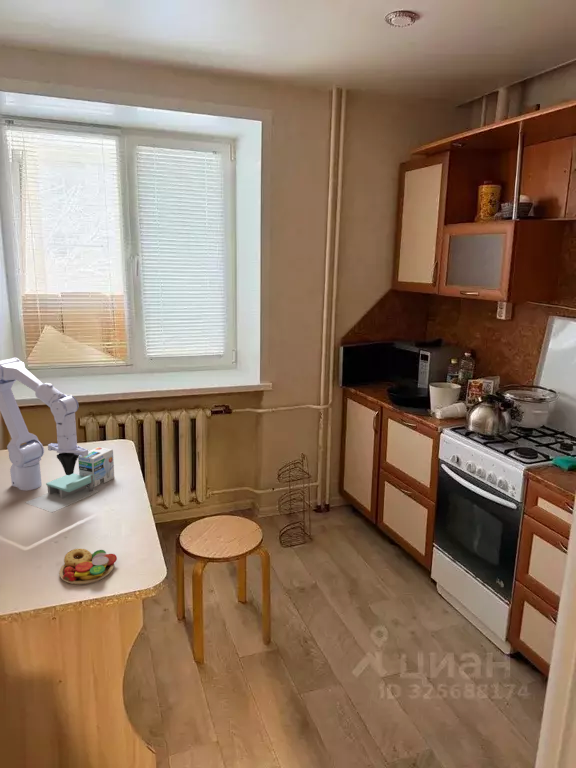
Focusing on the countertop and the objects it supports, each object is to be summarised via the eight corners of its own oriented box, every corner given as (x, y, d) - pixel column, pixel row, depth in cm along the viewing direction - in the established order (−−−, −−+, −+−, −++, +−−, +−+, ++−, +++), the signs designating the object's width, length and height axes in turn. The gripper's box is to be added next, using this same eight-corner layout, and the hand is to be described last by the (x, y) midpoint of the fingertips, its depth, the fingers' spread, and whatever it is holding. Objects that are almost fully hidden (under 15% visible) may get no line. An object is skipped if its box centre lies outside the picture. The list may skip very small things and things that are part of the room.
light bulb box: (95, 489, 182) (93, 458, 180) (79, 485, 185) (76, 456, 182) (115, 477, 192) (113, 448, 190) (99, 474, 194) (98, 446, 192)
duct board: (24, 504, 170) (23, 493, 169) (72, 485, 185) (71, 474, 184) (52, 514, 163) (51, 503, 163) (99, 493, 179) (98, 482, 178)
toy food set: (69, 558, 141) (68, 546, 140) (120, 556, 142) (120, 545, 142) (52, 588, 128) (51, 576, 127) (109, 586, 129) (108, 574, 129)
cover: (46, 485, 175) (45, 478, 174) (72, 474, 184) (71, 468, 183) (69, 492, 170) (68, 485, 169) (94, 481, 179) (94, 474, 178)
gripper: (39, 434, 170) (42, 474, 173) (75, 441, 165) (78, 482, 168) (55, 428, 177) (58, 467, 180) (91, 434, 172) (94, 474, 175)
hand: (69, 473), depth 175 cm, fingers closed
